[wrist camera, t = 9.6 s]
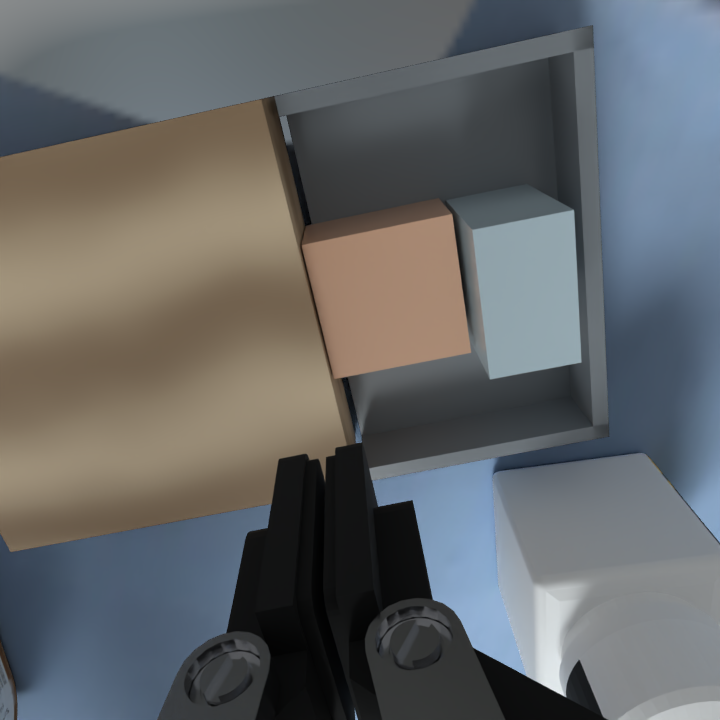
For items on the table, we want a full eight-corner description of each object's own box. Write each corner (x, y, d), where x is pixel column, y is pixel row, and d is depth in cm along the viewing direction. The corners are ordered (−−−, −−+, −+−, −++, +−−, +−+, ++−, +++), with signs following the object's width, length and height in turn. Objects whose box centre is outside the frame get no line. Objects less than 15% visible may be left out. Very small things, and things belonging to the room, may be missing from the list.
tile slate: (462, 324, 25) (536, 310, 25) (489, 379, 20) (581, 362, 20) (445, 199, 23) (526, 183, 23) (472, 229, 18) (574, 209, 18)
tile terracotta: (456, 322, 25) (471, 352, 22) (334, 346, 25) (333, 379, 22) (438, 198, 23) (452, 213, 20) (305, 225, 23) (301, 245, 20)
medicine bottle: (638, 568, 31) (800, 832, 20) (497, 585, 31) (581, 856, 20) (646, 448, 28) (841, 682, 17) (490, 468, 28) (584, 712, 17)
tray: (581, 400, 27) (609, 436, 24) (364, 441, 27) (366, 481, 25) (559, 32, 21) (592, 25, 18) (282, 94, 22) (274, 96, 19)
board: (355, 433, 27) (357, 487, 24) (53, 490, 28) (10, 552, 24) (274, 96, 22) (261, 99, 18) (-102, 179, 22) (-188, 199, 19)
